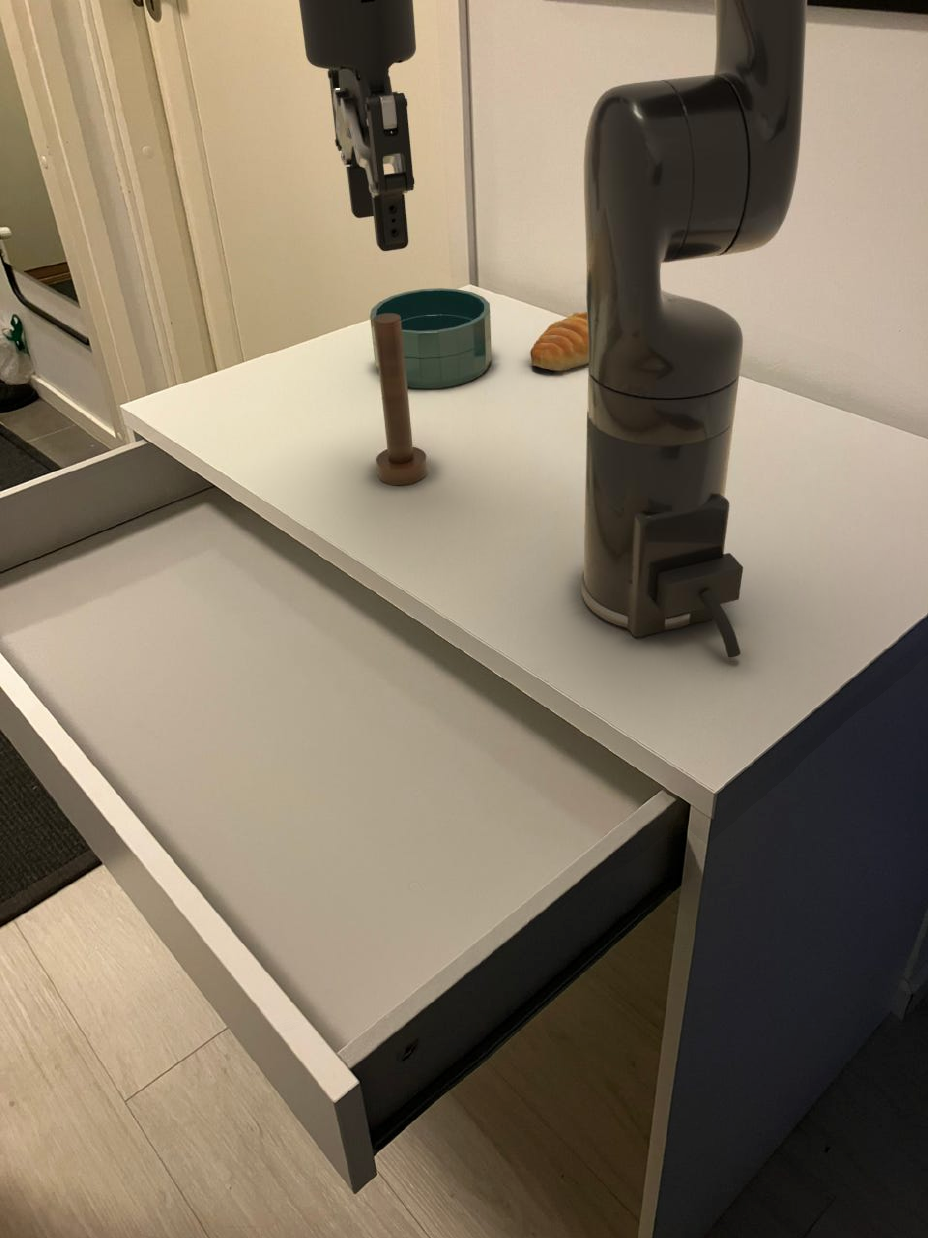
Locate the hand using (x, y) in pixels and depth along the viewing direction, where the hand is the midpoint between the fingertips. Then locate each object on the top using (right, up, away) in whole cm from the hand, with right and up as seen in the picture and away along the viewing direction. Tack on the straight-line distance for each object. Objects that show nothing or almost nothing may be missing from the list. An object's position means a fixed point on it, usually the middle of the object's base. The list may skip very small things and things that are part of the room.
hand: (379, 231), depth 77 cm
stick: (+1, -16, +13) cm, 21 cm away
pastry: (+18, -2, +30) cm, 35 cm away
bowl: (+3, -2, +31) cm, 31 cm away
